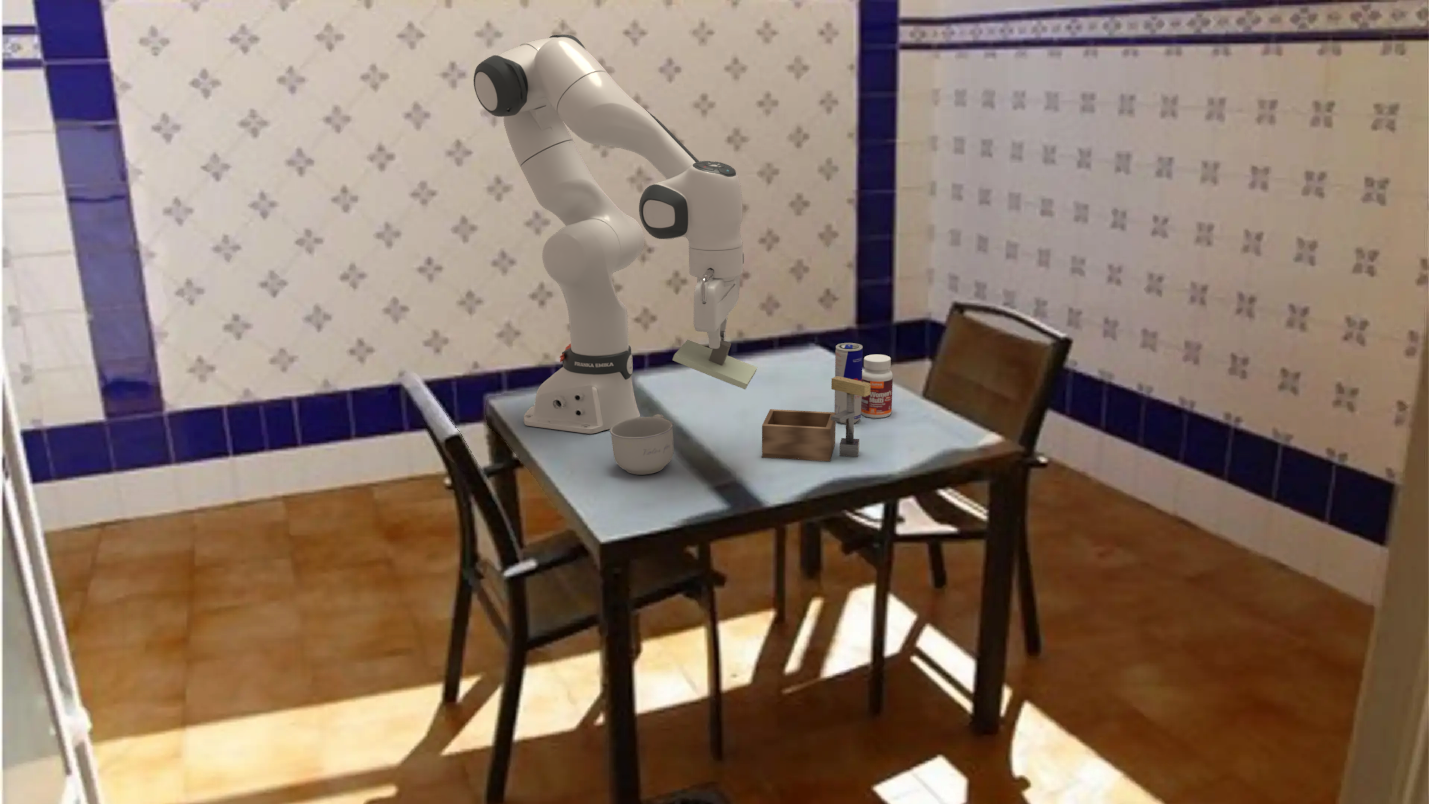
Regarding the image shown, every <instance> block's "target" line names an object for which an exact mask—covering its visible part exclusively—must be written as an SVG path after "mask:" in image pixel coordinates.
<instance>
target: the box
mask: <svg viewBox="0 0 1429 804" xmlns="http://www.w3.org/2000/svg"><path fill="white" fill-rule="evenodd" d="M835 414H836V412H834V411H831V412H830V411H816V410H815V411H812V410H796V409H794V410H793V409H791V410H789V409H775V408H774V409H773V408H771V409H769V410H768V412H767V415H766V416H765V419H764V420H763V423H762V425H761V458H765V459H767V458H768V459H784V460H785V459H786V460H798V461H799V460H800V461H802V460H803V461H820V462H830V461H831V459H832V455H833V452H834V449H835V446H836V427H837V426H836V425H837V421H833V420H831V416H833V415H835Z"/></svg>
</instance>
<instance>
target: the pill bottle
mask: <svg viewBox="0 0 1429 804" xmlns="http://www.w3.org/2000/svg"><path fill="white" fill-rule="evenodd" d="M891 360H892V358H891V357H890V356H888V355H886V354H869V355H866V356H864V358H863V368H864V369H862V382H867V383H871V387H870V395H868V396H865V397H863V396H862V400H861V416H864V417H867V418H870V419H881V418H886V417H889V416H890V415H891V414H892V409H893V381H894V375H893V372H892V370H890V368H891V366H892V365H891V364H892V363H891V362H892V361H891Z"/></svg>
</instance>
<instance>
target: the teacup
mask: <svg viewBox="0 0 1429 804" xmlns="http://www.w3.org/2000/svg"><path fill="white" fill-rule="evenodd" d="M673 427H674V424H673V422H672V421H671V420H669V419H666V418H665V416H663V414H658V413H657V414H654V415H653V416H640V417H638V418H631V419H627V420H624V421H621V422H618V423H616V424H614V425H613V426H612V427H611V428H610V429H609V432H610V434H611V435H610V437H611V445H612V452H613V457H614V461H615V462H616V464H617V466H619V468H622V470H625V471H626V473H629V474H632V475H638V476H641V475H651V474H652V475H653V474H654V473H658V472H660V471H661V470H663V469H664V468H665V467H666V465H667V466H668V464H669V463H670V462H671V460H672V458H673V456H674V450H675V449H674V434H673V433H674V431H673Z"/></svg>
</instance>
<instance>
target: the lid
mask: <svg viewBox="0 0 1429 804" xmlns="http://www.w3.org/2000/svg"><path fill="white" fill-rule="evenodd" d="M731 346H732V343H731V342H728V341H726V340H721V345H720V347H719V348H718V349H713V348H710V347H709V346H708V347H707V346H705V345H702V344H699V343H698V342H695V341H693V340H691V339H686V340H685V342H684V343H683V344H682V345H681V346H680V348H679V349H678V350H677V351H676V352H675V353H674V354H673V357H672V361H674V362H675V363H678V364H681V365H683V366H685V367H688V368H690V369H693V370H696V371H697V372H700V373H702V374H705V375H707V376H711V377H712V378H715V379H717V380H720V381H723V383H724V382H725V383H727V384H730V385H732V386H735V387H737V388H740V389H743V390H746V389H747V388H748V386H749V384H750V382H751V381H752V379H753V377H754V376H755V375H756V372H757V370H758V367H757V366H755V365H752V364H750V363H747V362H745V361H742V360H740V359H738V358H736V357H735V358H734V356H733V357H732V356H729V351H730V348H731Z"/></svg>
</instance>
